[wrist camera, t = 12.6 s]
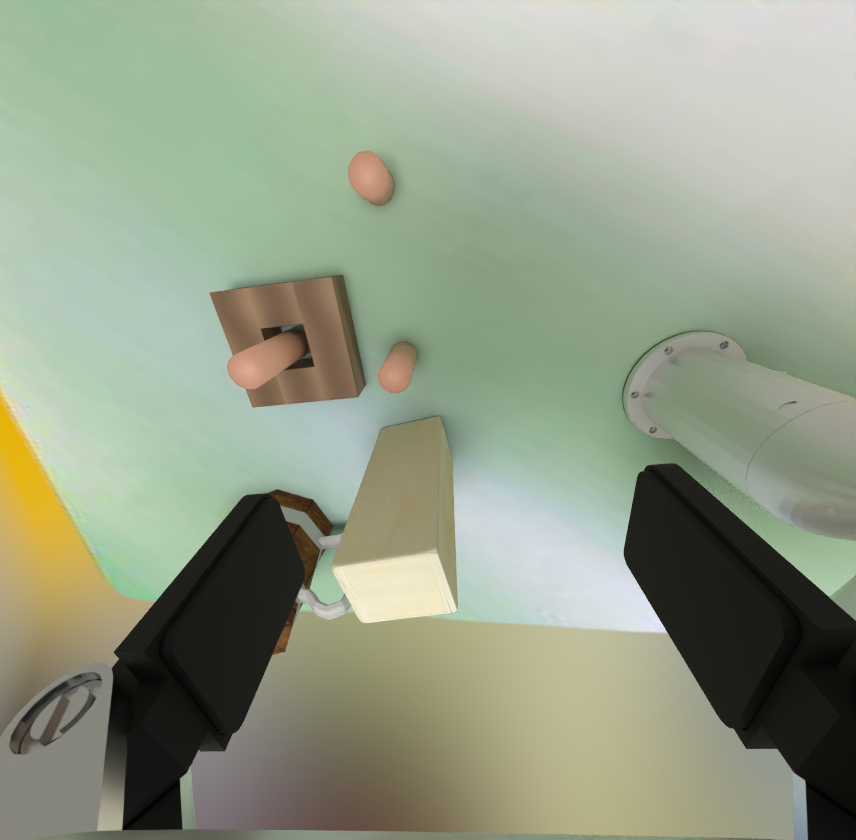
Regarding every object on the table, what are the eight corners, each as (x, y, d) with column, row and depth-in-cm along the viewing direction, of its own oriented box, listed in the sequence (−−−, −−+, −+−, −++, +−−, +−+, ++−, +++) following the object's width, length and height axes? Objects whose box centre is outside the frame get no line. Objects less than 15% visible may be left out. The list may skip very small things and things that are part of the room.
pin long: (312, 324, 37) (257, 351, 26) (319, 350, 38) (270, 387, 27) (286, 327, 37) (221, 355, 26) (294, 353, 38) (235, 391, 27)
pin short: (391, 164, 30) (382, 148, 26) (396, 203, 32) (388, 194, 27) (358, 169, 30) (344, 154, 26) (365, 207, 32) (352, 199, 27)
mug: (257, 558, 53) (194, 660, 40) (230, 490, 47) (146, 583, 34) (379, 557, 52) (357, 662, 39) (367, 487, 46) (337, 581, 33)
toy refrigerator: (396, 475, 45) (363, 631, 26) (379, 428, 42) (328, 566, 23) (453, 463, 44) (462, 618, 25) (440, 414, 41) (439, 548, 22)
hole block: (342, 275, 34) (331, 277, 31) (365, 384, 40) (358, 397, 36) (233, 289, 35) (209, 292, 32) (269, 394, 41) (252, 407, 37)
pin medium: (414, 340, 37) (408, 360, 30) (418, 366, 38) (412, 391, 31) (388, 343, 37) (375, 363, 30) (392, 369, 39) (381, 394, 31)
